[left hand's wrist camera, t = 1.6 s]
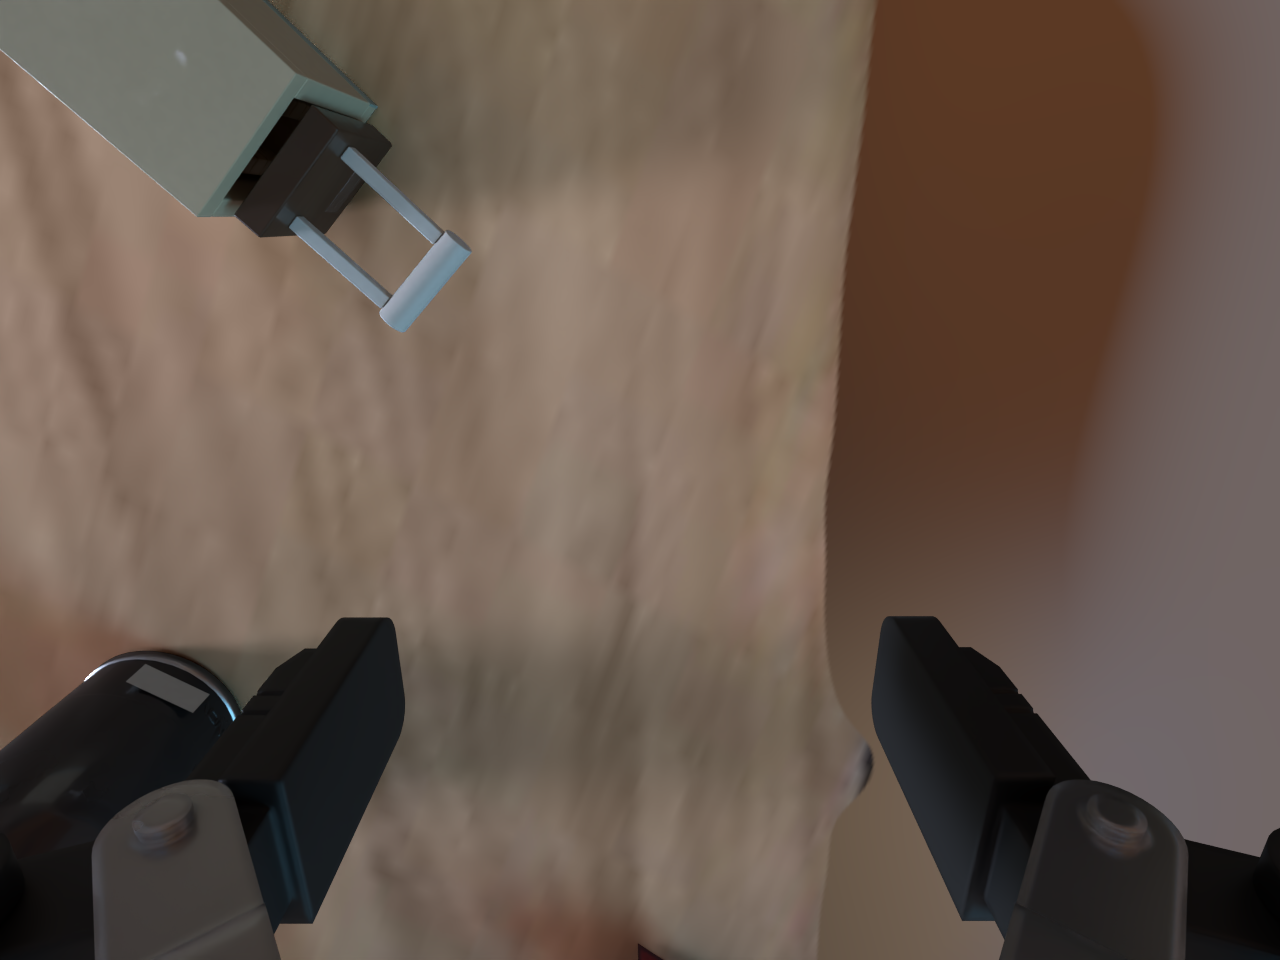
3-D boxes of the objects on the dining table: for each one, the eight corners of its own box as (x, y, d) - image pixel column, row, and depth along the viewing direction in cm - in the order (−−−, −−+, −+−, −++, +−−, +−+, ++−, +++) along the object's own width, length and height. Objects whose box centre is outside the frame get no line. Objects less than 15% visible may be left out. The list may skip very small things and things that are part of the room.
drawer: (495, 242, 32) (465, 248, 27) (426, 324, 33) (383, 346, 28) (50, -182, 27) (-103, -285, 21) (-11, -64, 28) (-170, -132, 23)
